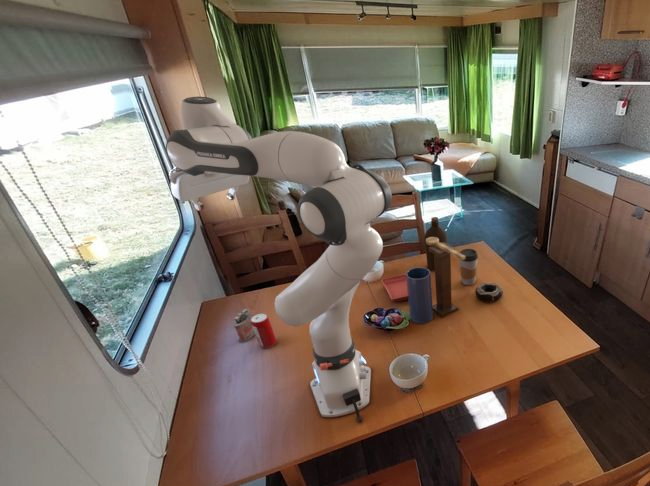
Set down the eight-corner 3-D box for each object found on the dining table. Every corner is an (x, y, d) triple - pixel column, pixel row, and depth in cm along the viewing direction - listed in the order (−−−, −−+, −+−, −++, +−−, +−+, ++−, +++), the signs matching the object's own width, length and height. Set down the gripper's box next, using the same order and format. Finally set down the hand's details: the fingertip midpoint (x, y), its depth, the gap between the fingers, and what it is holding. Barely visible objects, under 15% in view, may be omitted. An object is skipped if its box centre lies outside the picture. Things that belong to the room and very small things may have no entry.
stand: (458, 309, 155) (457, 248, 140) (442, 317, 151) (439, 254, 136) (445, 301, 160) (443, 241, 145) (430, 308, 156) (426, 247, 141)
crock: (435, 320, 149) (433, 276, 138) (413, 325, 146) (409, 281, 136) (429, 308, 156) (426, 265, 145) (407, 312, 153) (403, 269, 143)
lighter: (245, 342, 138) (236, 320, 133) (237, 341, 139) (228, 319, 133) (260, 329, 145) (252, 307, 139) (252, 327, 145) (244, 306, 140)
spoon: (469, 257, 134) (469, 254, 133) (458, 262, 131) (458, 258, 130) (433, 238, 147) (433, 235, 147) (423, 242, 144) (423, 239, 144)
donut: (472, 301, 160) (472, 293, 158) (478, 287, 170) (478, 279, 168) (500, 305, 158) (500, 297, 156) (504, 290, 167) (504, 282, 165)
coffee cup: (480, 280, 175) (481, 251, 167) (471, 288, 169) (471, 258, 161) (465, 275, 178) (465, 246, 170) (455, 283, 172) (455, 253, 164)
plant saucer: (381, 285, 171) (380, 278, 169) (419, 276, 178) (419, 270, 176) (392, 306, 157) (391, 299, 156) (433, 295, 164) (432, 289, 162)
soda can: (280, 340, 139) (271, 313, 133) (269, 350, 135) (259, 323, 128) (267, 337, 140) (257, 311, 134) (256, 347, 136) (246, 320, 129)
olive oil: (446, 272, 181) (444, 223, 168) (424, 271, 182) (421, 222, 168) (449, 261, 190) (447, 214, 177) (428, 260, 191) (425, 213, 177)
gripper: (176, 174, 94) (186, 221, 102) (251, 157, 109) (254, 198, 118) (159, 163, 95) (170, 209, 104) (235, 147, 110) (240, 189, 119)
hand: (215, 203), depth 111 cm, fingers open, 8 cm apart
